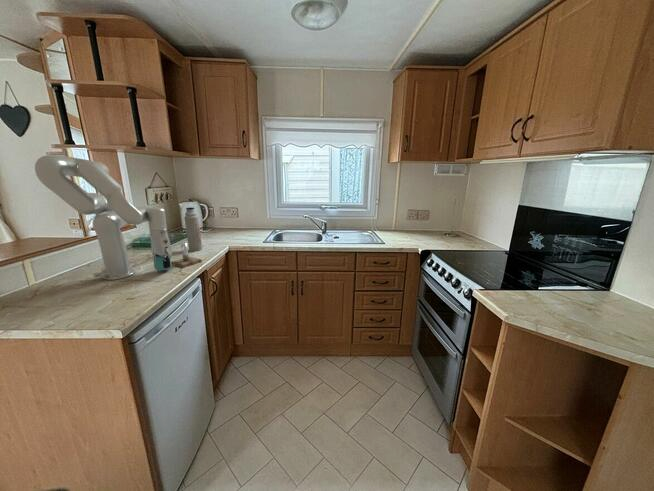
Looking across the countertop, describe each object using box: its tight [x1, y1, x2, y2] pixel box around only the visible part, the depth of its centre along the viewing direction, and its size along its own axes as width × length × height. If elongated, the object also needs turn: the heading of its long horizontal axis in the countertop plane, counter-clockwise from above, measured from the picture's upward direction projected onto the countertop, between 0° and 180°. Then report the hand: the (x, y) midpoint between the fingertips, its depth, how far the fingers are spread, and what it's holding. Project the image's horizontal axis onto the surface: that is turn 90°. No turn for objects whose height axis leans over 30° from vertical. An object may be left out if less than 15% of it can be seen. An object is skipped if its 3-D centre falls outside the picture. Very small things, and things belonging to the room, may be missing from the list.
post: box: [180, 242, 190, 261], centre depth 149 cm, size 3×3×10 cm
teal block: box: [153, 255, 172, 271], centre depth 137 cm, size 7×7×6 cm
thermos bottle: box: [184, 207, 203, 252], centre depth 173 cm, size 8×8×28 cm
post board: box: [171, 256, 202, 269], centre depth 150 cm, size 11×11×2 cm
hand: (162, 266), depth 138 cm, fingers closed on teal block, 6 cm apart
